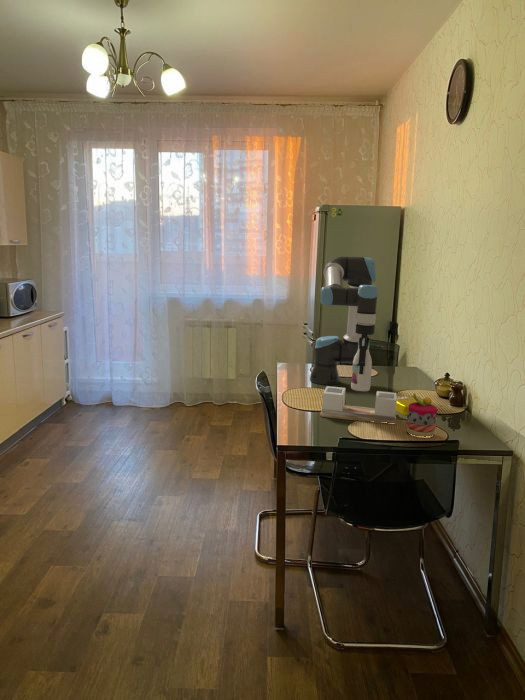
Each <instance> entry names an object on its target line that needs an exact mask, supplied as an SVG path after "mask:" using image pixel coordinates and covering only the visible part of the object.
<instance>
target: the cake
mask: <svg viewBox="0 0 525 700" xmlns="http://www.w3.org/2000/svg"><path fill="white" fill-rule="evenodd" d="M412 396H413V397H414V399H415V400H416V401H417V402H415V403H411V404H409V408H408V411H409V412H408V413H409V414H408V415H406V416H407V418H406V419H407V421H406V422H405V423H406V425H407V426H406V433H407V432H408V433H410V434H412V435H415V436H424V437H426V436H432V435H434V436H435V430H436V429H437V423H436V422H437V421H436V418H437V414H438V407H437V406H434V405H435V404H434V405H432V404H431V403H433V401H432V399H431V398H430V397H426V396H425V397H424V398H422V399H423V402H421V401H420V400H418V399H417V397H416V396H417V395H416V393H413V395H412Z"/></svg>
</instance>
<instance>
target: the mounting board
mask: <svg viewBox="0 0 525 700" xmlns="http://www.w3.org/2000/svg"><path fill="white" fill-rule="evenodd" d="M374 414H375V407H367V406H357V405H347V404H346V405H345V404H344V408H343V411H334V410H325V409H322V408H321V411H320V413H319V417H323V418H330V419H339V420H340V419H341V420H348V421H349V420H350V421H355V422H357V420H358V422H365V421H374V422H387V423H396V424H397V411H396V412H395V417H389V416H380V415H374Z"/></svg>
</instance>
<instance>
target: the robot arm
mask: <svg viewBox="0 0 525 700" xmlns="http://www.w3.org/2000/svg"><path fill="white" fill-rule="evenodd" d="M376 275H377V274H376V264H375V260H374V258H372V257H367V256H345V255H344V256H337V257H335V258H332V259H331V260H329V261H328V262H326V265H325V266H324V268H323V277H324V280H325V286H322V287H321V289H320V304H322V305H326V306H343V307H344V306H346V307H348V310H347V311H348V313H347V314H348V315H347V323H346V324H347V326H346V334H344V335H343V337H342V339H340V338H339V336H337V335H327V336H326V335H325V336H320V337H318V338H316V340H315V346H314V350H315V351H314V362H313V363H314V364H313V368H312V370H311V373H310V376H309V381H310V382H311V383H315V384H318V385H326V386H328V385H329V386H330V385H337V384H339V383H340V374H339V370H338V368H337V367H338V363H347V364H353V360H354V357H355V355H356V353H357V351H358V341H359V349H360V352H359V363H358V364H357V366H358V376H357V382H364V376H365V359H366V350H367V349H368V343H369V342H370V337H369V336H372V335H374V334H375V329H376V325H375V324H376V321H377V303H378V296H379V294H378V286H377V285H373V283H376ZM343 281H344V282H347V287H344V284H343ZM366 344H367V347H366ZM362 362H363V363H362Z"/></svg>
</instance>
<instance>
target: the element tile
mask: <svg viewBox="0 0 525 700" xmlns="http://www.w3.org/2000/svg"><path fill="white" fill-rule="evenodd" d="M416 397H417V399H418V400H420V401H421V402H423V399H424V398H422V397H420V396H418V395H416ZM415 402H417V401H416V400H415V399H414V397H413V395H406V396H405V395H404V396H397V395H396V412H398V413H399V412H400V413H399V414H401V415H403V416H408V414H409V413H408V412H409V411H408V408H409V404H411V403H415ZM431 404H432V405H434V406H435V403H433V402H432V403H431Z"/></svg>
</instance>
